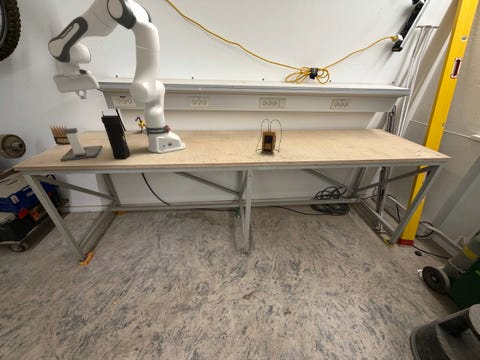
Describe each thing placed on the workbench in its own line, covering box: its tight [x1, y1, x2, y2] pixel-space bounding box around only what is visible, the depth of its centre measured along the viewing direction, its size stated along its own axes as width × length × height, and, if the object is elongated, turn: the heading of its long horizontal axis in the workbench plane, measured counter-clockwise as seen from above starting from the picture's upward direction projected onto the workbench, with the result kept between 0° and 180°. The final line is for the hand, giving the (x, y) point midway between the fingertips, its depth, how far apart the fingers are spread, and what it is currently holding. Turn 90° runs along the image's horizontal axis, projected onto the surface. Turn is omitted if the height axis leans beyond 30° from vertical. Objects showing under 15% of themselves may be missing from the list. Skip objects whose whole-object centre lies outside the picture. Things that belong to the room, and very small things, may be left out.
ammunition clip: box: [49, 125, 71, 146], centre depth 126 cm, size 11×2×12 cm, turn 91°
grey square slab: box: [59, 144, 104, 163], centre depth 114 cm, size 16×18×2 cm
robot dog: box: [134, 115, 146, 134], centre depth 151 cm, size 6×18×13 cm, turn 176°
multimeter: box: [255, 118, 283, 154], centre depth 118 cm, size 15×10×20 cm
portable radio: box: [100, 111, 131, 160], centre depth 105 cm, size 8×6×25 cm
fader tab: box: [63, 127, 86, 156], centre depth 106 cm, size 5×4×14 cm
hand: (84, 99), depth 116 cm, fingers closed
